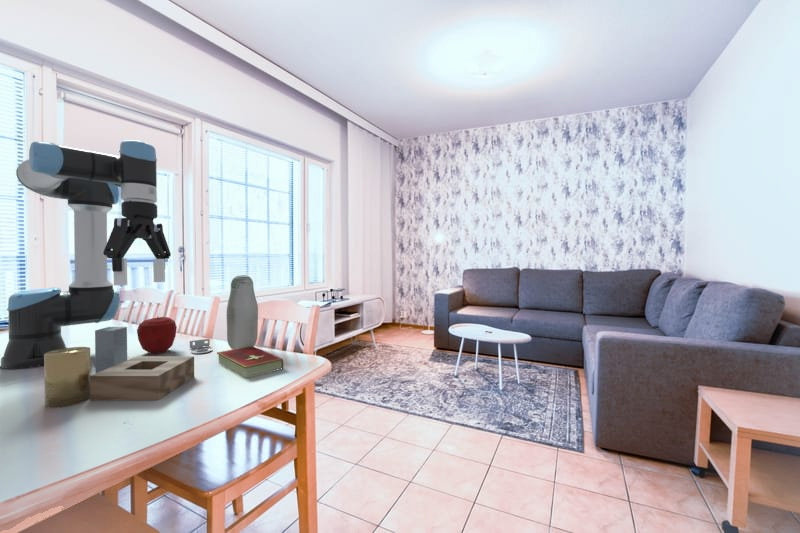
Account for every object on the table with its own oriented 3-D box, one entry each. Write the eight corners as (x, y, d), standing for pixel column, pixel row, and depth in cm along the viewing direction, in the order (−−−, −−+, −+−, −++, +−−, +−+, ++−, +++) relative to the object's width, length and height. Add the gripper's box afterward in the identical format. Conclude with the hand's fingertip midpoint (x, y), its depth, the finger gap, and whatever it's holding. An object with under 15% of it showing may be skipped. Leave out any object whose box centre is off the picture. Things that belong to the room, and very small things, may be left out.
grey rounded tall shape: (235, 347, 133) (235, 274, 132) (261, 347, 133) (262, 274, 132) (221, 354, 123) (221, 275, 122) (249, 355, 123) (250, 276, 122)
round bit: (66, 393, 88) (65, 346, 87) (99, 393, 88) (98, 346, 87) (34, 407, 80) (33, 356, 79) (71, 407, 80) (70, 356, 80)
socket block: (137, 376, 100) (137, 356, 100) (194, 376, 101) (194, 356, 100) (90, 400, 84) (89, 375, 84) (158, 400, 85) (158, 375, 85)
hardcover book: (252, 356, 123) (252, 344, 123) (283, 370, 109) (283, 357, 108) (216, 364, 114) (216, 351, 114) (245, 380, 100) (245, 366, 100)
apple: (157, 347, 131) (156, 312, 131) (185, 348, 130) (184, 313, 129) (128, 356, 119) (127, 317, 119) (158, 358, 118) (158, 319, 117)
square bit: (109, 374, 102) (109, 326, 101) (127, 374, 102) (126, 326, 102) (95, 380, 97) (95, 330, 96) (114, 380, 97) (113, 330, 97)
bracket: (192, 356, 121) (192, 346, 121) (189, 350, 130) (189, 340, 129) (213, 353, 125) (213, 344, 125) (209, 347, 133) (209, 338, 133)
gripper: (114, 192, 78) (117, 286, 79) (183, 209, 103) (185, 280, 104) (81, 193, 78) (83, 287, 79) (158, 209, 103) (160, 281, 104)
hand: (141, 283), depth 91 cm, fingers open, 13 cm apart
